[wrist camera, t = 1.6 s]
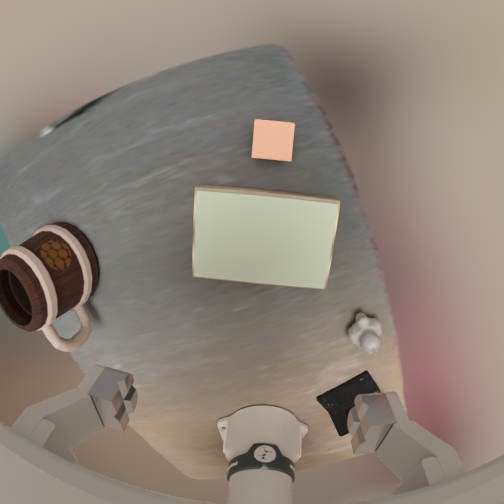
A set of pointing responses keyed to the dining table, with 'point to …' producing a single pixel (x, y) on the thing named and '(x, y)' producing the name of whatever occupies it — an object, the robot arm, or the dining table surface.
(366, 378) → the handheld gaming console
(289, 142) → the terracotta block
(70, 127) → the dining table surface
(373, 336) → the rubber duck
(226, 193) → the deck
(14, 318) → the mug
